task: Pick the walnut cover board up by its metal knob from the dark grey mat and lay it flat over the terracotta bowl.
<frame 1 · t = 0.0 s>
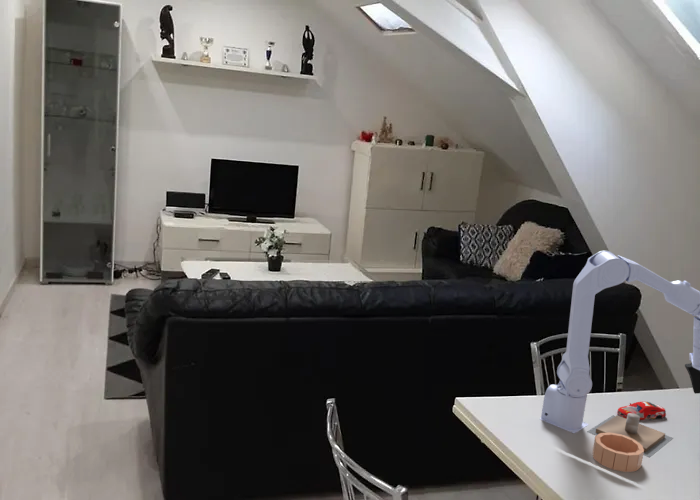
mat: (629, 437, 163), on the table
cover board: (630, 434, 163), point 1 cm above the table, touching mat
race car: (639, 418, 175), on the table
bowl: (615, 461, 150), on the table
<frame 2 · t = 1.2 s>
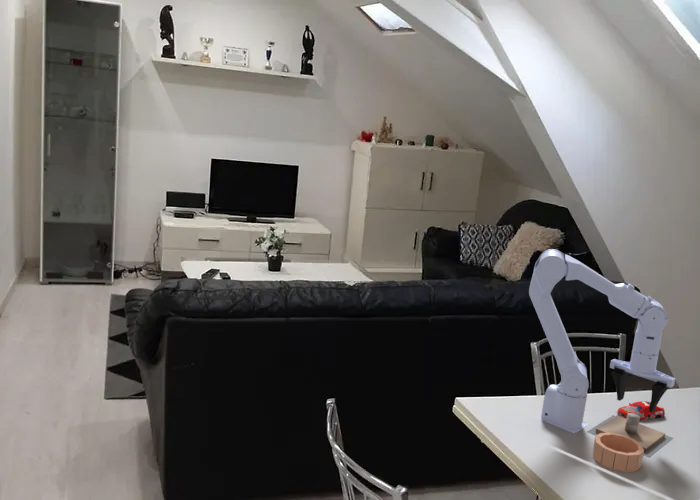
hand: (635, 405, 161), 8 cm above the table, tool pointing down, fingers open, 7 cm apart
nothing on the table moved.
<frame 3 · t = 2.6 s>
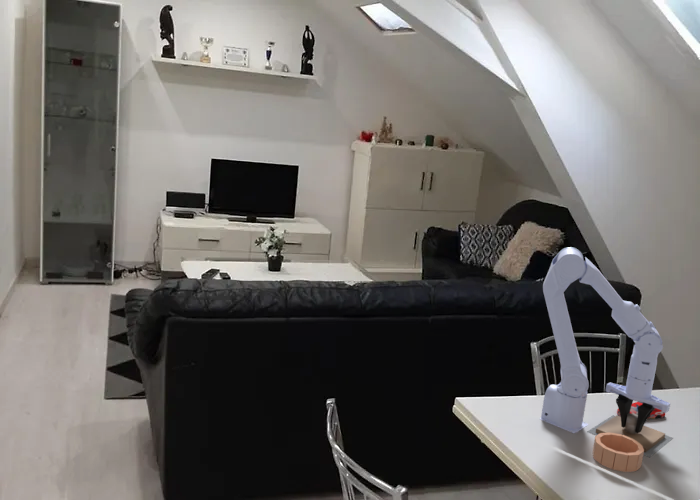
hand: (631, 428, 162), 2 cm above the table, tool pointing down, fingers closed on cover board, 3 cm apart
cover board: (630, 434, 163), point 1 cm above the table, touching gripper, mat
everything else where it was.
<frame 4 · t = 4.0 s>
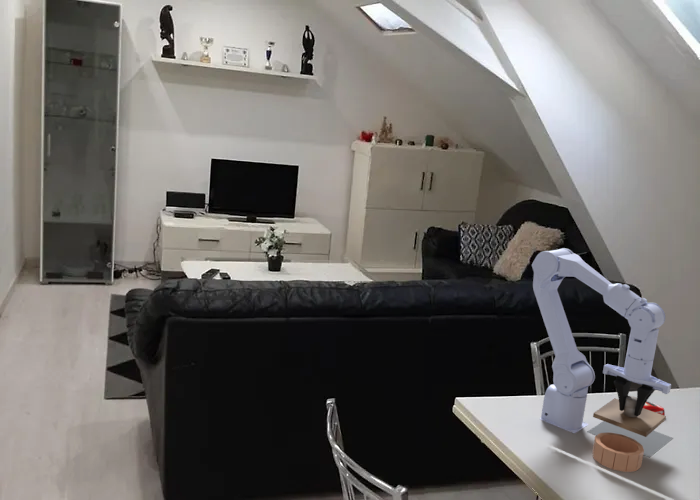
hand: (629, 412, 154), 9 cm above the table, tool pointing down, fingers closed on cover board, 3 cm apart
cover board: (629, 418, 155), point 8 cm above the table, touching gripper
everything else where it was.
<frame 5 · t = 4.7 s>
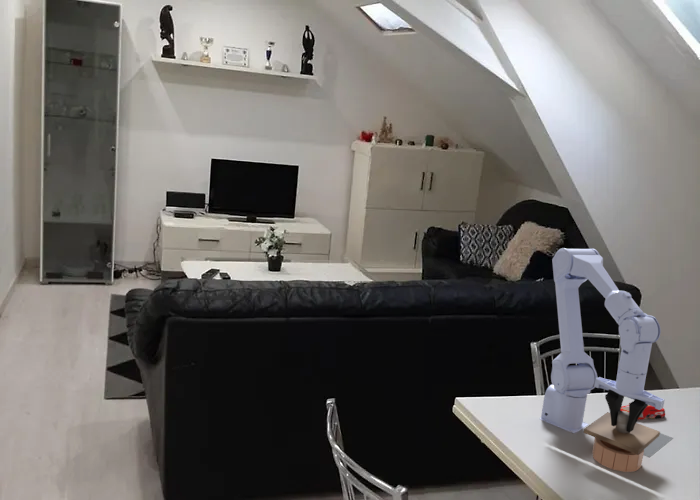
hand: (622, 427, 148), 8 cm above the table, tool pointing down, fingers closed on cover board, 3 cm apart
cover board: (621, 434, 149), point 7 cm above the table, touching gripper
everything else where it was.
when the fingers open (7 cm above the table, at t = 5.5 s): cover board drops 1 cm, resting on bowl.
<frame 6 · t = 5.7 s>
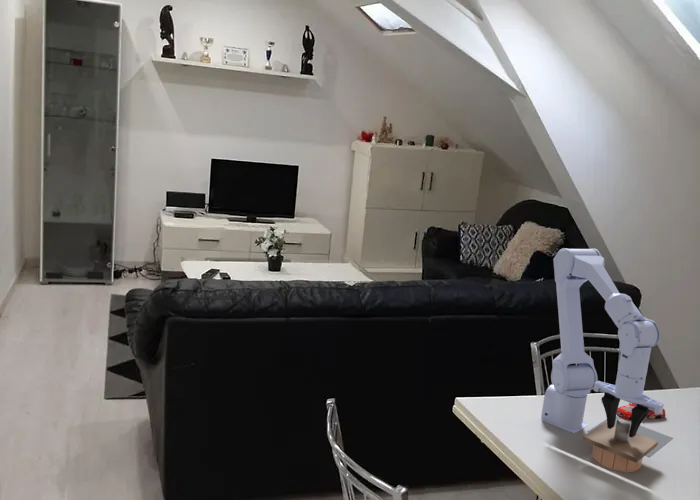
hand: (621, 431, 148), 7 cm above the table, tool pointing down, fingers open, 4 cm apart
cover board: (619, 443, 149), point 4 cm above the table, touching bowl
everything else where it was.
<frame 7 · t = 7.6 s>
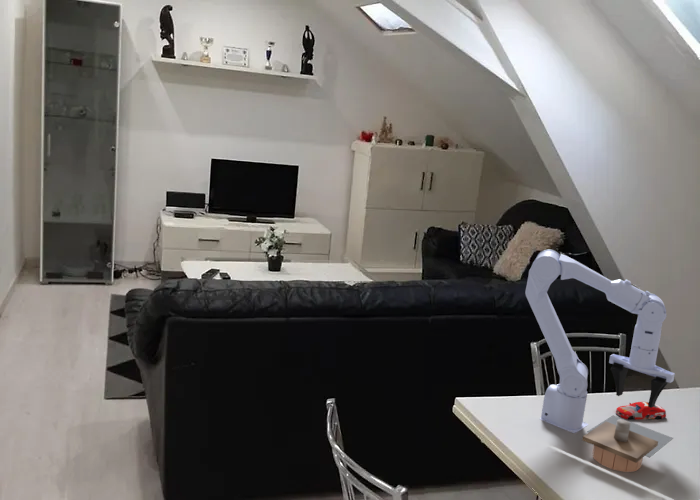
hand: (635, 400, 160), 10 cm above the table, tool pointing down, fingers open, 7 cm apart
nothing on the table moved.
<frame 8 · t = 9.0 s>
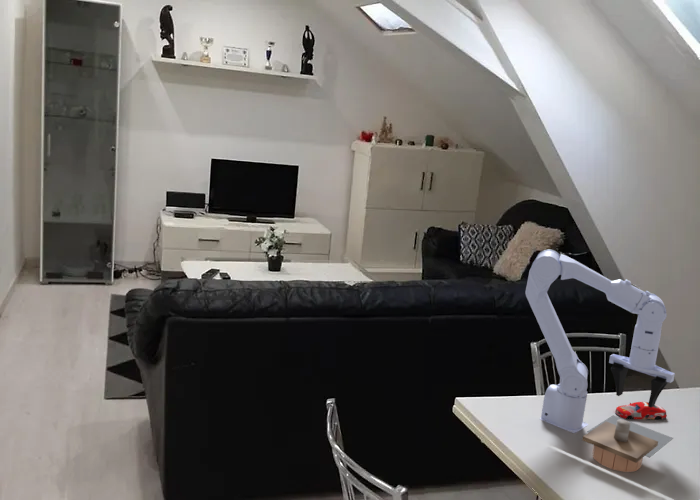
hand: (635, 400, 160), 10 cm above the table, tool pointing down, fingers open, 7 cm apart
nothing on the table moved.
at the end: cover board 0.4 cm from the bowl (horizontally); cover board point 4.5 cm above the table; cover board tilted 0° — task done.
